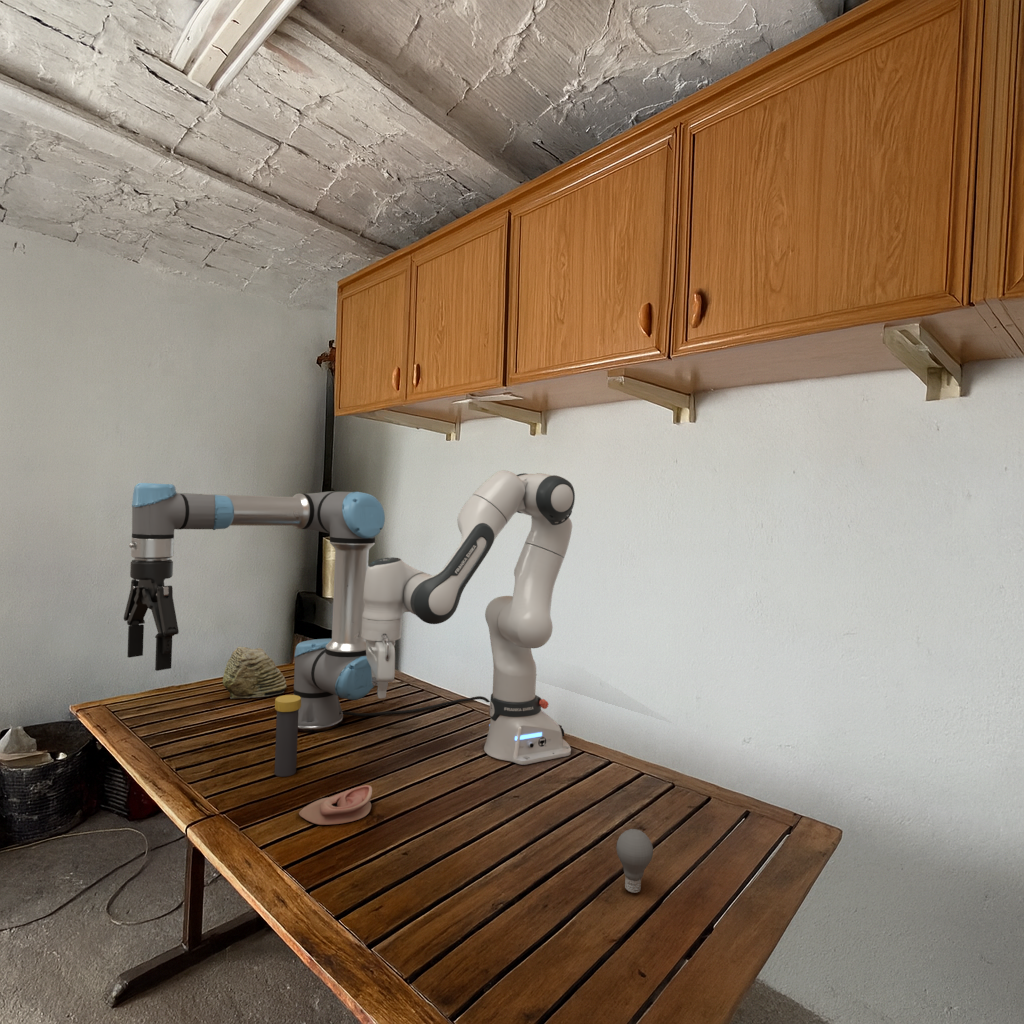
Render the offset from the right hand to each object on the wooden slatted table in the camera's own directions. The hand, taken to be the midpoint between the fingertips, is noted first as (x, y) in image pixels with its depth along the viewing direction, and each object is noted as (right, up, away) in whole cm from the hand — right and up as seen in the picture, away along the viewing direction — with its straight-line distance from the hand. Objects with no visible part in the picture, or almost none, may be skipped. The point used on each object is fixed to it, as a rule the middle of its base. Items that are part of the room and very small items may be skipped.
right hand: (378, 691), depth 143 cm
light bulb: (+50, -23, -37) cm, 66 cm away
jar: (-22, -19, +2) cm, 29 cm away
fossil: (-51, -17, +55) cm, 77 cm away
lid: (-21, -3, +2) cm, 21 cm away
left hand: (-44, +10, -13) cm, 47 cm away
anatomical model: (-5, -20, -15) cm, 26 cm away
